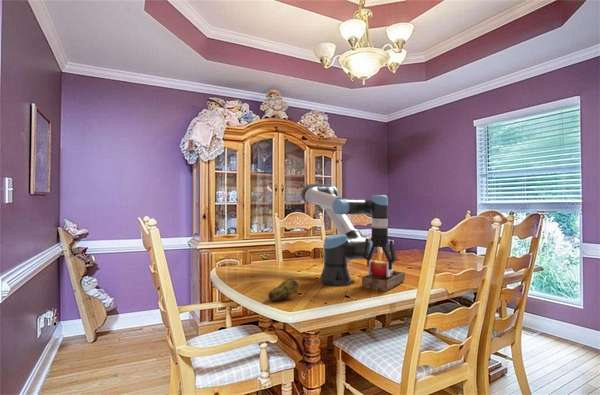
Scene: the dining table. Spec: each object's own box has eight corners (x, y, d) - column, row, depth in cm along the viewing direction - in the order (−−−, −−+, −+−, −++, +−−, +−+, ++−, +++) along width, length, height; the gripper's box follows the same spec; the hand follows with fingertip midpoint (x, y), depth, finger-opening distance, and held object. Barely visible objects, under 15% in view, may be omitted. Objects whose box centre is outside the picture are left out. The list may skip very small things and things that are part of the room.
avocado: (266, 297, 136) (266, 278, 136) (296, 295, 139) (296, 277, 139) (269, 303, 128) (269, 283, 128) (301, 301, 131) (301, 281, 131)
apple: (369, 274, 159) (369, 254, 159) (387, 275, 158) (387, 254, 158) (370, 278, 151) (371, 257, 151) (389, 279, 150) (389, 257, 150)
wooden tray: (362, 287, 153) (362, 277, 153) (381, 278, 172) (381, 269, 172) (387, 291, 146) (387, 281, 146) (404, 281, 164) (404, 272, 164)
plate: (384, 281, 160) (384, 263, 160) (391, 278, 167) (391, 260, 167) (385, 281, 159) (385, 263, 159) (392, 278, 166) (392, 260, 167)
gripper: (356, 226, 158) (355, 273, 158) (398, 229, 145) (398, 280, 145) (362, 225, 164) (362, 270, 164) (404, 228, 151) (404, 276, 151)
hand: (379, 275), depth 154 cm, fingers closed on apple, 8 cm apart
